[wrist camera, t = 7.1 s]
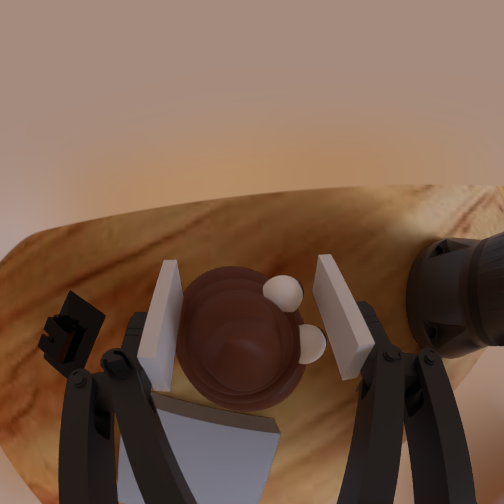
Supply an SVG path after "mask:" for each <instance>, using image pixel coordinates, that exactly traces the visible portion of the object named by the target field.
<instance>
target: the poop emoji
mask: <svg viewBox="0 0 504 504" xmlns="http://www.w3.org/2000/svg"><path fill="white" fill-rule="evenodd" d="M183 296H184V297H183V303H182V310H181V316H180V322H179V329H178V336H177V343H176V350H175V351H176V354H177V358H178V360H179V363H180V365H181V367H182V369H183V371H184V373H185V375H186V376H187V378H188V379H189V381H190V382H191V383H192V385H193V386H194V387H195V388H196V389H197V390H198V391H199V392H200V393H201V394H202V395H203V396H204V397H206V398H207V399H208V400H210V401H212V402H213V403H215V404H217V405H219V406H221V407H224V408H227V409H230V410H235V411H243V412H250V411H259V410H263V409H267V408H270V407H272V406H275V405H277V404H278V403H280V402H281V401H283V400H284V399H285V398H287V397H288V396H289V395H290V394H291V393H292V392H293V390H294V389H295V388H296V386H297V385H298V383H299V382H300V380H301V378H302V375H303V373H304V370H305V367H306V364H308V363H312V362H314V361H316V360H317V359H319V358H320V357H321V355H322V354H323V352H324V350H325V348H326V343H327V339H326V336H325V334H324V332H323V331H322V329H321V328H319V327H316V326H314V325H310V324H304V322H303V319H302V317H301V315H300V313H299V311H298V309H297V308H298V307H299V306H300V304H301V302H302V299H303V296H304V290H303V287H302V285H301V283H300V282H299V281H298V280H297V279H296V278H293V277H290V276H287V275H279V276H275V277H273V278H271V279H270V278H268V277H266V276H265V275H263V274H261V273H259V272H256V271H254V270H251V269H247V268H243V267H234V266H229V267H221V268H216V269H213V270H210V271H208V272H206V273H204V274H202V275H201V276H199V277H198V278H196V279H195V280H194V281H193V282H192V283H191V284H190V285H189V286H188V287H187V289H186V290H185V292H184V293H183Z"/></svg>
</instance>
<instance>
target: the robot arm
mask: <svg viewBox="0 0 504 504" xmlns="http://www.w3.org/2000/svg"><path fill="white" fill-rule="evenodd" d="M312 292H313V295H314V298H315V301H316V304H317V306H318V309H319V312H320V315H321V318H322V321H323V324H324V327H325V329H326V332H327V335H328V338H329V341H330V344H331V347H332V350H333V353H334V356H335V359H336V363H337V366H338V369H339V372H340V375H341V378H342V381H343V380H349V379H354V378H357V377H358V375H359V373H360V372H361V375H362V377H363V378H362V380H361V382H360V383H359V385H358V387H357V389H356V392H358V390H359V389H360V390H359V398H358V405H357V412H356V418H355V425H354V430H353V436H352V441H351V446H350V451H349V456H348V461H347V465H346V470H345V474H344V478H343V482H342V486H341V490H340V493H339V497H338V501H337V504H393V501H394V496H395V490H396V484H397V478H398V471H399V464H400V456H401V447H402V435H403V420H404V424H405V430H406V436H407V442H408V448H409V455H410V462H411V470H412V478H413V490H414V503H415V504H477V502H476V498H475V488H474V481H473V474H472V467H471V462H470V457H469V451H468V447H467V442H466V438H465V433H464V429H463V425H462V422H461V418H460V415H459V411H458V408H457V404H456V400H455V397H454V394H453V391H452V388H451V385H450V382H449V379H448V376H447V373H446V370H445V367H444V365H443V362H442V359H441V358H448V359H452V358H458V357H461V356H464V355H467V354H469V353H472V352H475V351H477V350H480V349H482V348H485V347H487V346H504V232H502V233H499V234H496V235H494V236H491V237H489V238H486V239H483V240H476V239H464V238H445V239H442V240H439V241H437V242H434V243H432V244H430V245H428V246H427V247H426V248H424V249H423V250H422V251H421V253H420V254H419V255H418V257H417V258H416V260H415V262H414V264H413V266H412V269H411V272H410V275H409V279H408V284H407V293H406V306H407V315H408V320H409V324H410V328H411V331H412V333H413V336H414V338H415V339H416V341H417V343H418V344H419V345H420V347H421V348H422V350H421V351H420V352H419V353H418V354H408V353H402V351H401V350H400V349H399V348H398V347H396V346H394V345H391V343H390V341H389V339H388V337H387V335H386V333H385V331H384V329H383V327H382V325H381V323H379V319H378V317H377V316H376V314H375V312H374V310H373V308H372V307H371V306H370V305H369V304H368V303H367V302H366V301H362V302H355V300H354V298H353V296H352V294H351V292H350V290H349V288H348V286H347V284H346V282H345V280H344V278H343V276H342V274H341V272H340V270H339V269H338V267H337V265H336V263H335V261H334V259H333V257H332V255H331V254H324V255H318V261H317V267H316V272H315V278H314V284H313V289H312ZM183 297H184V296H183V291H182V286H181V280H180V275H179V269H178V263H177V260H164V261H163V264H162V267H161V270H160V274H159V277H158V280H157V283H156V287H155V290H154V294H153V297H152V301H151V304H150V308H149V311H148V312H135V314H134V315H133V316H132V317H131V318H130V320H129V323H128V326H127V329H126V333H125V336H124V339H123V343H122V346H121V349H120V348H115V349H111V350H109V351H107V352H106V353H105V354H104V355H103V356H102V358H101V363H100V365H101V366H102V368H103V369H104V372H100V373H95V374H91V373H90V372H89V371H87V370H86V369H76V370H74V371H73V372H72V373H71V374H70V375H69V376H68V379H67V383H66V389H65V396H64V403H63V411H62V419H61V429H60V443H59V468H58V481H59V504H119V503H118V494H117V484H116V470H115V449H114V412H115V413H116V417H117V421H118V425H119V429H120V433H121V436H122V440H123V443H124V447H125V450H126V453H127V456H128V459H129V462H130V465H131V468H132V471H133V474H134V477H135V479H136V482H137V485H138V487H139V490H140V492H141V495H142V497H143V500H144V502H145V504H198V503H197V502H196V500H195V498H194V496H193V494H192V492H191V490H190V488H189V486H188V484H187V482H186V480H185V478H184V476H183V473H182V471H181V469H180V467H179V465H178V462H177V460H176V458H175V455H174V453H173V451H172V448H171V446H170V443H169V441H168V439H167V436H166V433H165V431H164V428H163V426H162V423H161V420H160V417H159V415H158V412H157V409H156V406H155V403H154V400H153V397H152V395H151V394H150V393H151V386H152V387H153V388H154V390H155V391H169V392H170V391H171V382H172V374H173V366H174V358H175V350H176V343H177V336H178V329H179V322H180V316H181V310H182V303H183Z"/></svg>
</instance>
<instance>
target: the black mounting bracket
mask: <svg viewBox="0 0 504 504" xmlns="http://www.w3.org/2000/svg"><path fill="white" fill-rule="evenodd" d="M105 317H106V315H105V314H103V313H102V312H100V311H99V310H97V309H96V308H95V307H93V306H92V305H90V304H89V303H87V302H86V301H85V300H83V299H82V298H80V297H79V296H78V295H76V294H75V293H74V292H72V291H69V293H68V295H67V298H66V300H65V302H64V305H63V307H62V309H61V312H60V314H59V315H54V317H48V319H47V321H46V324H45V327H44V330H45V331H46V332H47V333H48V334H49V335H48V337H47V336H46V335H45V334H42V335H41V338H40V341H39V344H38V347H39V348H40V349H41V350H42V351H43V352H44V353H45V354H44V359H45V360H47V361H48V362H49V363H50V364H51V365H52V366H53V367H54V368H55V369H56V370H58V371H59V372H60V373H61V374H62V375H63V376H65V377H66V378H67V379H68V376H69V375H70V374H71V373H72V372H73V371H74V370H76V369H84V367H85V365H86V362H87V359H88V357H89V354H90V352H91V350H92V347H93V345H94V342H95V340H96V338H97V335H98V333H99V331H100V328H101V326H102V324H103V322H104V319H105Z"/></svg>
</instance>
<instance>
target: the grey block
mask: <svg viewBox="0 0 504 504" xmlns="http://www.w3.org/2000/svg"><path fill="white" fill-rule="evenodd" d="M150 394H151V395H152V397H153V400H154V403H155V406H156V409H157V412H158V415H159V417H160V420H161V423H162V426H163V428H164V431H165V433H166V436H167V439H168V441H169V443H170V446H171V448H172V451H173V453H174V455H175V458H176V460H177V462H178V465H179V467H180V469H181V471H182V473H183V476H184V478H185V480H186V482H187V484H188V486H189V488H190V490H191V492H192V494H193V496H194V498H195V500H196V502H197V503H198V504H258V503H259V500H260V498H261V495H262V492H263V489H264V486H265V483H266V480H267V477H268V474H269V471H270V468H271V465H272V462H273V459H274V456H275V453H276V449H277V446H278V443H279V439H280V436H281V433H280V430H279V428H278V426H277V424H276V422H275V420H274V419H273V418H266V417H259V416H252V415H246V414H240V413H235V412H229V411H224V410H219V409H214V408H210V407H205V406H201V405H197V404H193V403H189V402H185V401H181V400H178V399H174V398H171V397H167V396H164V395H160V394H157V393H154V392H151V393H150ZM118 501H119V502H122V503H125V504H145V502H144V500H143V497H142V495H141V492H140V490H139V487H138V485H137V482H136V479H135V477H134V474H133V471H132V468H131V465H130V462H129V459H128V456H127V453H126V450H125V447H124V443H123V440H122V436H120V448H119V464H118Z"/></svg>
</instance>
